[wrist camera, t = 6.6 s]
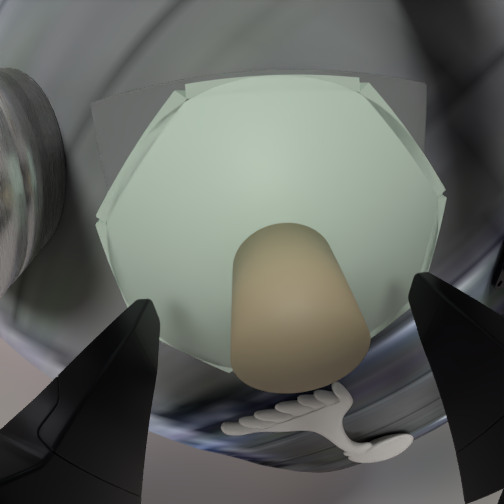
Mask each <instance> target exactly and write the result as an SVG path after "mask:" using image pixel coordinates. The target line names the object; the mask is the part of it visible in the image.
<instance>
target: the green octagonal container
mask: <svg viewBox="0 0 504 504" xmlns="http://www.w3.org/2000/svg"><path fill="white" fill-rule="evenodd" d="M444 191H445V188H444V186H443V184H442V183H441V181H440V179H439V177H438V176H437V174H436V172H435V171H434V169H433V168H432V166H431V164H430V163H429V161H428V160H427V158H426V156H425V155H424V153H423V152H422V150H421V149H420V147H419V146H418V144H417V143H416V142H415V140H414V139H413V137H412V136H411V134H410V133H409V132H408V130H407V129H406V128H405V126H404V125H403V124H402V122H401V121H400V120H399V118H398V117H397V116H396V114H395V113H394V112H393V111H392V109H391V108H390V107H389V106H388V104H387V103H386V102H385V101H384V99H383V98H382V97H381V96H380V95H379V94H378V92H377V91H376V90H375V89H374V88H373V87H372V86H371V84H370V83H360V81H359V78H358V77H346V76H331V75H263V76H247V77H236V78H226V79H217V80H209V81H202V82H195V83H189V84H185V90H174V92H173V93H172V94H171V96H170V97H169V98H168V100H167V101H166V102H165V104H164V105H163V106H162V108H161V109H160V110H159V112H158V113H157V115H156V116H155V117H154V119H153V120H152V122H151V123H150V125H149V126H148V127H147V129H146V130H145V132H144V133H143V135H142V136H141V138H140V139H139V141H138V143H137V144H136V146H135V147H134V149H133V150H132V152H131V154H130V155H129V157H128V158H127V160H126V162H125V163H124V165H123V167H122V168H121V170H120V172H119V174H118V175H117V177H116V179H115V181H114V182H113V184H112V186H111V188H110V190H109V191H108V193H107V195H106V197H105V199H104V201H103V203H102V205H101V207H100V208H99V210H98V212H97V214H96V217H97V218H99V219H100V220H99V221H98V222H97V223H96V224H95V226H96V229H97V231H98V234H99V237H100V240H101V243H102V246H103V248H104V251H105V254H106V257H107V259H108V262H109V264H110V267H111V270H112V272H113V275H114V277H115V279H116V282H117V284H118V287H119V289H120V291H121V294H122V296H123V298H124V300H125V303H126V305H127V307H129V306H130V305H131V304H132V303H133V302H135V301H136V300H137V299H151V300H152V302H153V304H154V307H155V309H156V312H157V314H158V317H159V319H160V337H159V340H160V341H162V342H164V343H166V344H168V345H170V346H172V347H174V348H176V349H178V350H180V351H182V352H184V353H186V354H188V355H190V356H192V357H194V358H196V359H199V360H201V361H203V362H205V363H207V364H209V365H212V366H214V367H216V368H218V369H221V370H223V371H225V372H228V373H230V372H231V371H234V373H235V375H236V376H237V377H238V378H239V379H240V380H241V381H243V382H244V383H245V384H247V385H249V386H251V387H253V388H256V389H259V390H262V391H266V392H272V393H300V392H306V391H311V390H315V389H318V388H321V387H324V386H327V385H329V384H332V383H334V382H336V381H338V380H339V379H341V378H343V377H344V376H346V375H347V374H349V373H350V372H351V371H353V370H354V369H355V368H356V367H357V366H358V365H359V364H360V363H361V361H362V360H363V359H364V357H365V356H366V354H367V352H368V350H369V346H370V340H371V338H372V337H374V336H375V335H376V334H378V333H379V332H380V331H382V330H383V329H384V328H386V327H387V326H388V325H389V324H391V323H392V322H393V321H395V320H396V319H397V318H398V317H400V316H401V315H402V314H403V313H405V312H406V311H407V310H408V309H409V308H411V307H410V304H409V301H408V294H409V290H410V287H411V284H412V281H413V277H414V275H415V274H416V273H420V272H428V271H429V268H430V264H431V261H432V257H433V254H434V250H435V247H436V243H437V239H438V235H439V231H440V227H441V223H442V218H443V214H444V209H445V204H446V199H447V197H445V196H444V195H442V193H443V192H444Z"/></svg>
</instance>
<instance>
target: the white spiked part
mask: <svg viewBox="0 0 504 504" xmlns="http://www.w3.org/2000/svg"><path fill="white" fill-rule="evenodd" d="M332 390H333V391H332V392H330V391H326V390H315V391H314V395H300V396H298V397H297V400H295V401H285V402H280V403H278V404H276V406H275V409H266V410H259V411H257V412H255V413H254V416H246V417H242V418H240V419H239V422H224V423H223V424H222V425H221V430H222V431H223V432H224V433H225V434H227V435H245V434H250V433H254V432H288V431H312V432H316V433H318V434H321V435H322V436H324V437H326V438H327V439H328V440H330V441H331V442H332V443H334V444H335V445H336V446H338V447H339V448H341V449H342V450H344V453H343V454H344V455H345V456H349V457H348V459H349V460H351V461H354V462H359V463H373V462H378V461H383V460H387V459H390V458H392V457H394V456H396V455H398V454H400V453H401V452H403V451H404V450H405V449H407V448H408V447H409V446H410V444H411V443H412V441H413V436H412V435H409V434H392V435H386V436H383V437H380V438H377V439H374V440H372V441H370V442H364V443H357V442H354V441H351V440H350V439H349V438H348V436H347V435H346V433H345V431H344V429H343V425H342V419H343V417H344V415H345V413H346V412H347V411H348V410H349V408H350V407H351V406H352V404H353V399H352V397H351V395H350V393H349V392H348V391H347V389H346V388H345V387H344V386H343V385H342V384H340V383H339V382H334V383H332Z"/></svg>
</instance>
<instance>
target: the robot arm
mask: <svg viewBox="0 0 504 504" xmlns="http://www.w3.org/2000/svg"><path fill="white" fill-rule="evenodd" d="M492 285H493V286H494V288H495V289H500V288H503V287H504V254H503V257H502V259H501V262H500V264H499V267H498V270H497V272H496V274H495V277H494V279H493V282H492ZM408 301H409V304H410V307H411V310H412V313H413V317H414V320H415V323H416V326H417V330H418V333H419V336H420V340H421V343H422V345H423V348H424V351H425V353H426V356H427V359H428V361H429V364H430V367H431V369H432V372H433V375H434V378H435V381H436V384H437V387H438V390H439V393H440V396H441V399H442V402H443V406H444V409H445V412H446V416H447V419H448V423H449V427H450V430H451V434H452V438H453V442H454V446H455V451H456V452H457V453H456V456H457V461H458V465H459V470H460V475H461V482H462V488H463V495H464V501H465V504H467V503H470V502H473V501H476V500H478V499H481V498H483V497H485V496H488V495H490V494H492V493H495V492H497V491H499V490H501V489H503V488H504V317H503V316H501V315H499V314H498V313H496V312H495V311H493V310H491V309H490V308H488V307H487V306H485V305H483V304H482V303H480V302H479V301H477V300H475V299H474V298H472V297H470V296H469V295H467V294H465V293H464V292H462V291H460V290H458V289H457V288H455V287H453V286H452V285H450V284H448V283H446V282H445V281H443V280H441V279H439V278H438V277H436V276H434V275H432V274H430V273H429V272H420V273H416V274H415V275H414V277H413V281H412V284H411V287H410V290H409V294H408ZM159 337H160V319H159V317H158V314H157V312H156V309H155V307H154V304H153V302H152V300H151V299H137V300H136V301H135V302H133V303H132V304H131V305H130V306H129V307H128V308H127V309H126V310H125V311H124V312H123V313H122V314H121V315H119V316H118V317H117V318H116V319H115V320H114V321H113V322H112V323H111V324H110V325H109V326H108V327H107V328H106V329H105V330H104V331H103V332H102V333H100V334H99V335H98V336H97V337H96V338H95V339H94V340H93V341H92V342H91V343H90V344H89V345H88V346H87V347H86V348H85V349H84V350H83V351H82V352H81V353H80V354H79V355H78V356H77V357H76V358H75V359H74V360H73V361H72V362H71V363H70V364H69V365H68V366H67V367H66V368H65V369H64V370H63V371H62V372H61V373H60V374H59V375H58V377H56V378H55V379H54V380H53V381H52V382H51V383H50V384H49V385H48V386H47V387H46V388H45V389H44V390H43V391H42V392H41V393H40V394H39V395H38V396H37V397H36V398H35V399H34V400H33V401H32V402H31V403H29V404H28V405H27V406H26V407H25V408H24V409H23V410H22V411H20V412H19V413H18V414H17V415H16V416H15V417H14V418H13V419H12V420H10V421H9V422H8V423H7V424H6V425H5V426H4V427H3V428H2V429H0V504H141V493H142V492H141V491H142V481H143V469H144V460H145V451H146V443H147V435H148V427H149V420H150V413H151V406H152V400H153V394H154V388H155V382H156V375H157V366H158V350H159ZM498 504H504V489H503V491H502V494H501V496H500V499H499V502H498Z"/></svg>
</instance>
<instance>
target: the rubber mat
mask: <svg viewBox="0 0 504 504" xmlns="http://www.w3.org/2000/svg"><path fill="white" fill-rule="evenodd" d="M263 75H331V76H346V77H358V78H359V81H360V83H370V84H371V86H372V87H373V88H374V89H375V90H376V91H377V92H378V94H379V95H380V96H381V97H382V98H383V99H384V101H385V102H386V103H387V104H388V106H389V107H390V108H391V109H392V111H393V112H394V113H395V114H396V116H397V117H398V118H399V120H400V121H401V122H402V124H403V125H404V126H405V128H406V129H407V130H408V132H409V133H410V134H411V136H412V137H413V139H414V140H415V142H416V143H417V144H418V146H419V147H420V149H421V150H422V152H423V153H424V145H425V131H426V105H427V84H426V83H422V82H417V81H412V80H407V79H401V78H396V77H389V76H383V75H375V74H367V73H358V72H347V71H333V70H307V69H284V70H258V71H243V72H232V73H223V74H215V75H207V76H200V77H194V78H188V79H182V80H176V81H171V82H166V83H161V84H157V85H152V86H148V87H144V88H140V89H136V90H132V91H128V92H125V93H121V94H118V95H114V96H111V97H108V98H104V99H101V100H98V101H95V102H92V103H90V104H91V111H92V117H93V123H94V128H95V133H96V139H97V144H98V149H99V153H100V158H101V162H102V167H103V171H104V175H105V179H106V183H107V187H108V191H109V190H110V188H111V186H112V184H113V182H114V181H115V179H116V177H117V175H118V174H119V172H120V170H121V168H122V167H123V165H124V163H125V162H126V160H127V158H128V157H129V155H130V154H131V152H132V150H133V149H134V147H135V146H136V144H137V143H138V141H139V139H140V138H141V136H142V135H143V133H144V132H145V130H146V129H147V127H148V126H149V125H150V123H151V122H152V120H153V119H154V117H155V116H156V115H157V113H158V112H159V110H160V109H161V108H162V106H163V105H164V104H165V102H166V101H167V100H168V98H169V97H170V96H171V94H172V93H173V92H174V90H185V84H189V83H195V82H202V81H209V80H217V79H226V78H236V77H247V76H263ZM163 344H164V346H170V345H168V344H166V343H164V342H163Z"/></svg>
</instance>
